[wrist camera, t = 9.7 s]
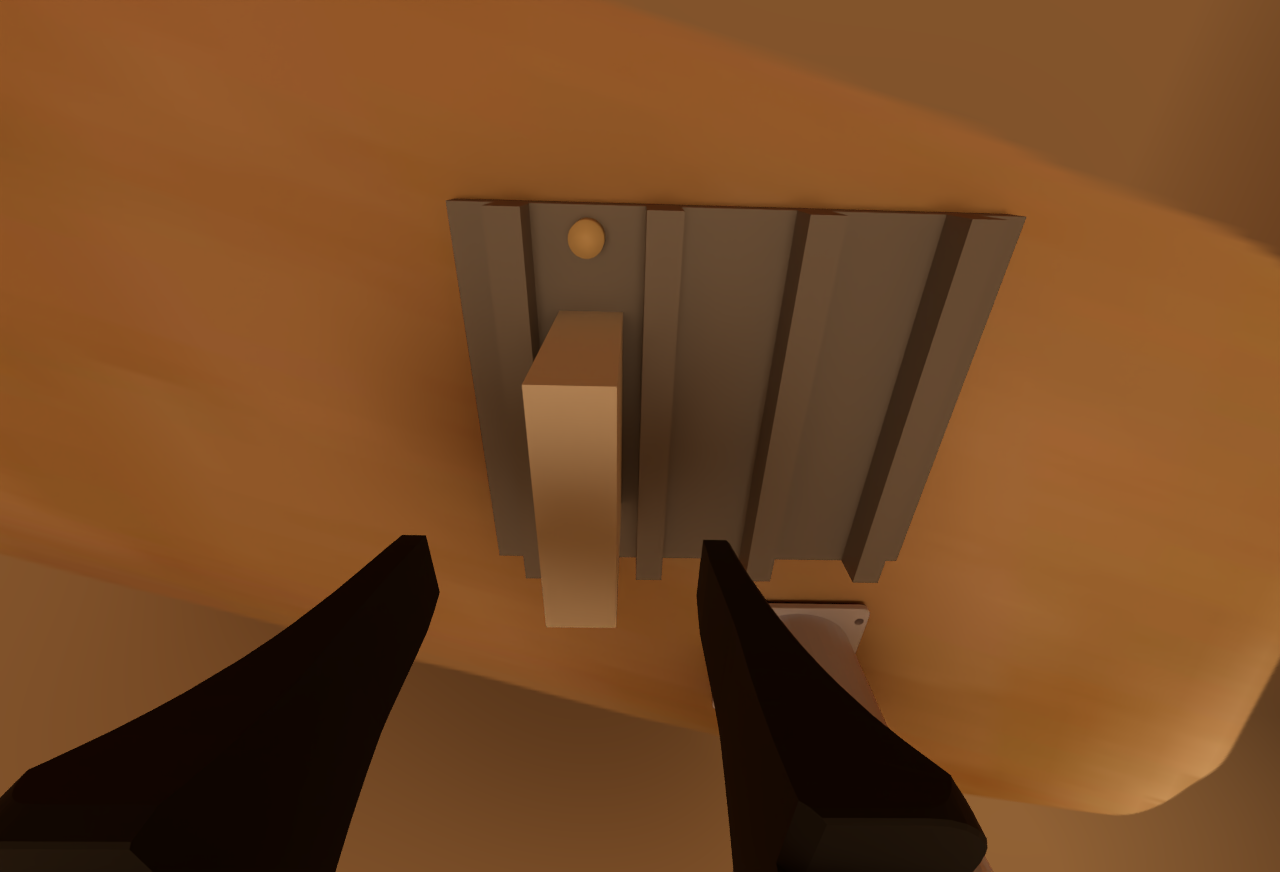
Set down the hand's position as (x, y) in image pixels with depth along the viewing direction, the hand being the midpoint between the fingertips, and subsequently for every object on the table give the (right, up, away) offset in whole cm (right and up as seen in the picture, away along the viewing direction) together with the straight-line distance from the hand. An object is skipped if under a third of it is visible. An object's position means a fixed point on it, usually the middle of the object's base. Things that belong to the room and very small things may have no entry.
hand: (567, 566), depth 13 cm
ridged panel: (+5, +5, +9) cm, 11 cm away
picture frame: (0, +4, +8) cm, 9 cm away
